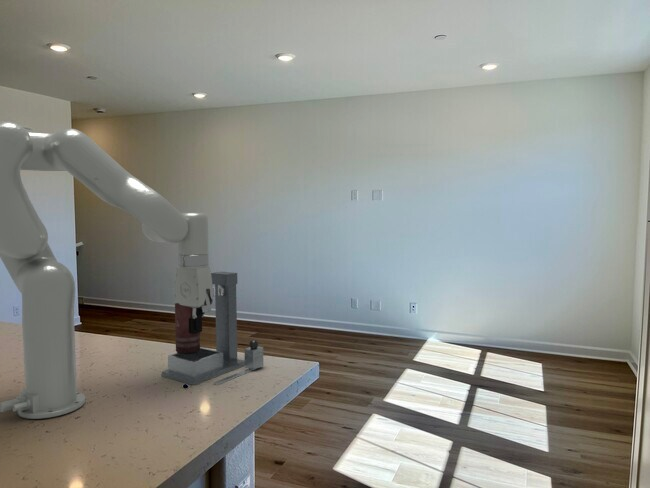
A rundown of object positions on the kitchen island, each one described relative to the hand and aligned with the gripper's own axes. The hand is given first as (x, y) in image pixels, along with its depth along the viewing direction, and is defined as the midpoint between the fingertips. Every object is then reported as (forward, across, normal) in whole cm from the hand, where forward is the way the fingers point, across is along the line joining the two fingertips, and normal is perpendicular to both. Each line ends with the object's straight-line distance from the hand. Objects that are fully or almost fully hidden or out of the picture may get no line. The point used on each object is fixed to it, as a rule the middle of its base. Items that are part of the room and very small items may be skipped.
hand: (195, 332), depth 122 cm
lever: (+11, +10, +11) cm, 18 cm away
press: (+11, 0, +3) cm, 11 cm away
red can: (+6, -3, 0) cm, 6 cm away
